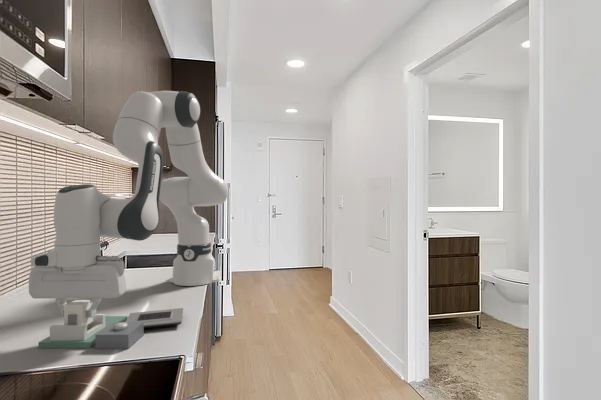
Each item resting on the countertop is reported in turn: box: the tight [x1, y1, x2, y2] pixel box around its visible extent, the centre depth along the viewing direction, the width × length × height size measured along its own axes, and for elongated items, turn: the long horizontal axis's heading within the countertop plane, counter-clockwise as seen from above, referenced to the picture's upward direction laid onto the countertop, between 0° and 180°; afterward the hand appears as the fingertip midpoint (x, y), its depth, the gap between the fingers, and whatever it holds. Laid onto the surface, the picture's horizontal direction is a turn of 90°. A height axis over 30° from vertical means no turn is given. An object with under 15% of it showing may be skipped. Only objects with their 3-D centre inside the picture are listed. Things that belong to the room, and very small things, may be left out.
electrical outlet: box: [125, 307, 184, 329], centre depth 89 cm, size 13×10×2 cm
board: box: [37, 313, 128, 349], centre depth 83 cm, size 16×11×4 cm
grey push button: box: [95, 322, 145, 350], centre depth 78 cm, size 7×7×4 cm
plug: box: [63, 299, 93, 325], centre depth 79 cm, size 5×4×5 cm
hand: (79, 317), depth 80 cm, fingers closed on plug, 4 cm apart
